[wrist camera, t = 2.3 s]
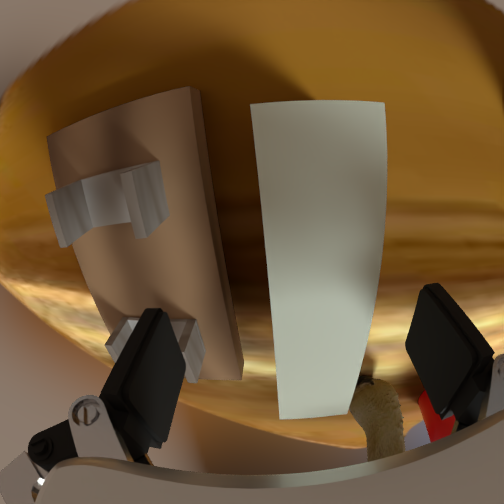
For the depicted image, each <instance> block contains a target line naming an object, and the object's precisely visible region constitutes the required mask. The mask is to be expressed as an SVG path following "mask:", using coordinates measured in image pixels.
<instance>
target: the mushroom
mask: <svg viewBox="0 0 504 504" xmlns="http://www.w3.org/2000/svg"><path fill="white" fill-rule="evenodd" d="M400 406H401V405H400V404H399V400H398V393H397V392H396V390H395V389H394V388H393V387H392V386H391V385H390V384H389V383H388V382H386V381H384V380H381V379H374V378H372V377H369V376H360V377H358V380H357V383H356V387H355V390H354V393H353V397H352V400H351V403H350V406H349V409H350V412H351V413H352V415H353V416H354V418H355V419H356V421H357V422H358V423H359V425H360V426H361V427H362V428H363V430H364V431H365V434H366V437H367V456H368V462H370V461H374V460H378V459H382V458H386V457H389V456H393V455H396V454H400V453H403V452H405V444H404V436H403V425H402V424H403V420H402V419H403V418H404V417H402V413H401V410H400Z"/></svg>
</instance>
